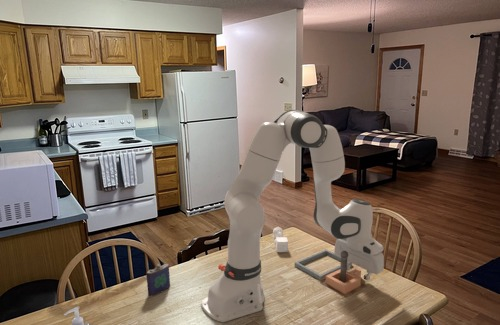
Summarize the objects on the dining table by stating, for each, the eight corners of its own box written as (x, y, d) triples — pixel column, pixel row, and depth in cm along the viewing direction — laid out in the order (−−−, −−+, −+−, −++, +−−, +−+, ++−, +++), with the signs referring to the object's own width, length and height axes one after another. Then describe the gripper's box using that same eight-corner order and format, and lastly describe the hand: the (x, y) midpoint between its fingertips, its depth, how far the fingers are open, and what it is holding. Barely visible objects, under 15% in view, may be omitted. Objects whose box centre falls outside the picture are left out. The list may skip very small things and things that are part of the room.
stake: (345, 300, 128) (347, 262, 125) (319, 285, 137) (320, 249, 134) (366, 288, 135) (368, 252, 132) (340, 275, 144) (342, 241, 141)
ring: (344, 294, 130) (345, 286, 129) (325, 283, 137) (325, 275, 136) (368, 281, 138) (369, 273, 137) (349, 271, 145) (349, 264, 144)
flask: (167, 284, 139) (166, 258, 137) (172, 287, 137) (170, 261, 135) (146, 294, 132) (144, 267, 130) (151, 297, 130) (149, 270, 128)
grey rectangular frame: (320, 283, 139) (320, 276, 138) (294, 268, 150) (294, 262, 149) (351, 267, 150) (352, 261, 149) (325, 255, 161) (325, 249, 160)
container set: (288, 252, 164) (288, 241, 163) (276, 253, 164) (276, 241, 163) (282, 234, 183) (282, 224, 182) (272, 234, 183) (272, 224, 182)
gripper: (331, 234, 143) (330, 266, 146) (377, 253, 127) (374, 288, 131) (342, 230, 147) (340, 261, 150) (387, 248, 131) (384, 282, 134)
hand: (356, 274), depth 140 cm, fingers open, 8 cm apart
